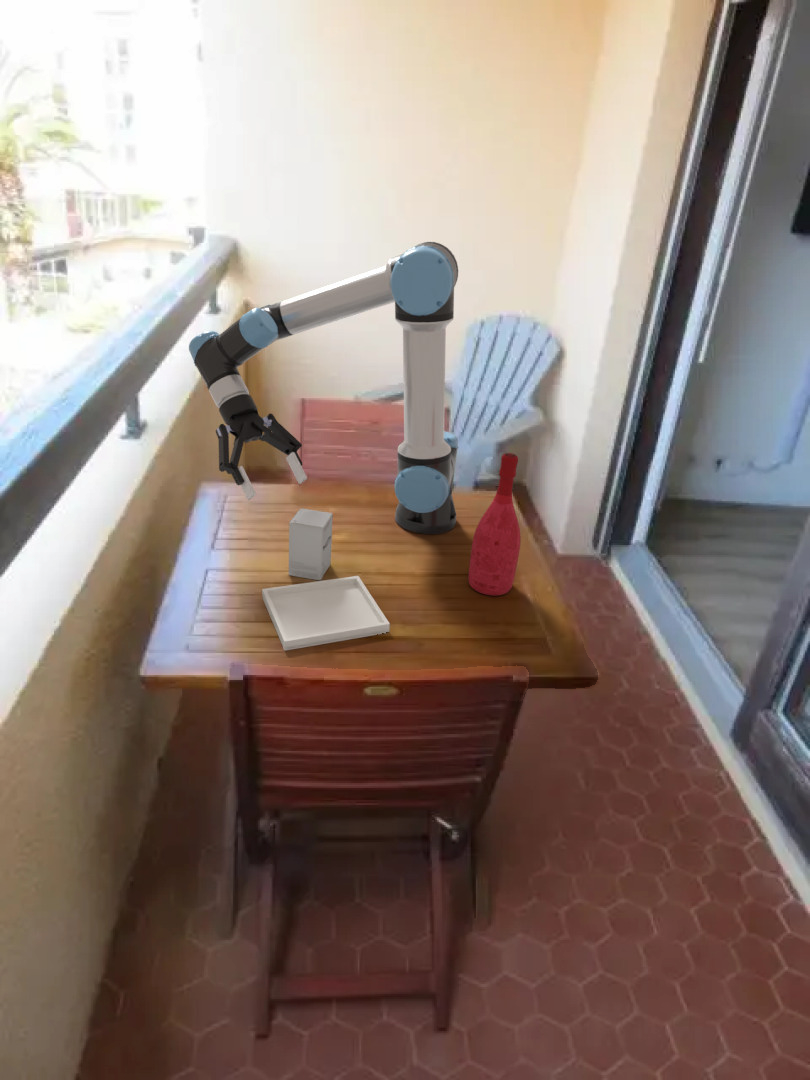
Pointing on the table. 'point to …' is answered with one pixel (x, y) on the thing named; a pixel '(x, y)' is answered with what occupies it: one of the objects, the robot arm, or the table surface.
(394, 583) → the table surface
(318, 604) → the white tray
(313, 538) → the supplement box
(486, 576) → the wine bottle
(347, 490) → the table surface
